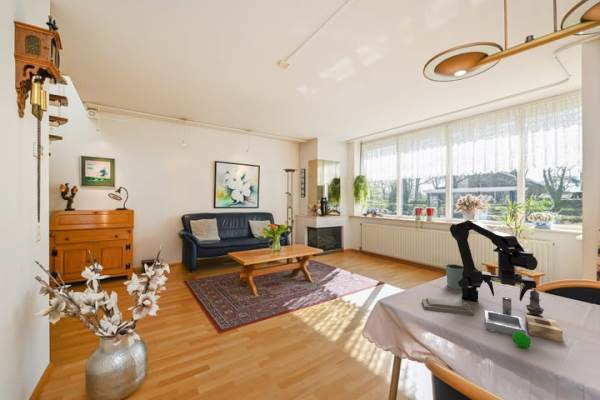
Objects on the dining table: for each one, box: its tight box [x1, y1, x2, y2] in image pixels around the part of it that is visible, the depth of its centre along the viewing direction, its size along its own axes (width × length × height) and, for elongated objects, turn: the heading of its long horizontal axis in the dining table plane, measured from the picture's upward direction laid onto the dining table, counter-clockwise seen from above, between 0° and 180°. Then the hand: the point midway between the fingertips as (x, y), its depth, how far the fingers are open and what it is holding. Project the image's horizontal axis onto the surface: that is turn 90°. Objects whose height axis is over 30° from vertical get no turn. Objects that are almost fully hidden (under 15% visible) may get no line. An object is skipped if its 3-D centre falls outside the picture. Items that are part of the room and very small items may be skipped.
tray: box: [484, 309, 527, 336], centre depth 101 cm, size 12×12×3 cm
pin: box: [502, 296, 512, 316], centre depth 109 cm, size 3×3×8 cm
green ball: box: [512, 332, 532, 349], centre depth 88 cm, size 5×5×5 cm
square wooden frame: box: [524, 314, 563, 343], centre depth 96 cm, size 9×9×4 cm
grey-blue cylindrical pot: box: [445, 263, 464, 290], centre depth 145 cm, size 10×10×12 cm
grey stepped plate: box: [421, 297, 474, 316], centre depth 119 cm, size 10×20×4 cm, turn 70°
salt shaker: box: [525, 288, 545, 318], centre depth 109 cm, size 6×6×12 cm
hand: (506, 298), depth 109 cm, fingers open, 9 cm apart
